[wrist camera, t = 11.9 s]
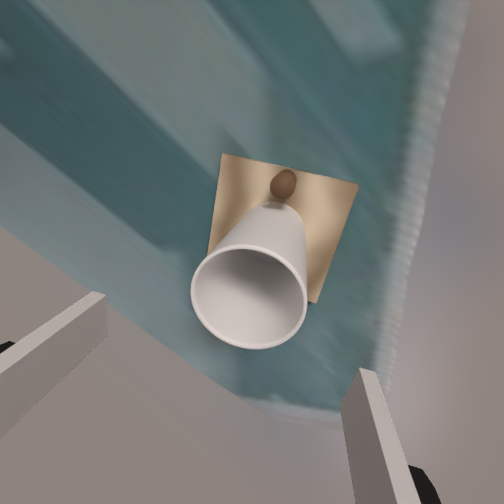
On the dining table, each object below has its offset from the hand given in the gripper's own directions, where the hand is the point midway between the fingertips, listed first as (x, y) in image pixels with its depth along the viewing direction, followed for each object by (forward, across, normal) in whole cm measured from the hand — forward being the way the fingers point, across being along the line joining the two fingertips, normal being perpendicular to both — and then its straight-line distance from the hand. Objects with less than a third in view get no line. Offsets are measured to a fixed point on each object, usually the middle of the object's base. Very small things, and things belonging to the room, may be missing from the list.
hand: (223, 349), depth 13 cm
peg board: (+23, +1, 0) cm, 23 cm away
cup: (+21, +1, 0) cm, 21 cm away
